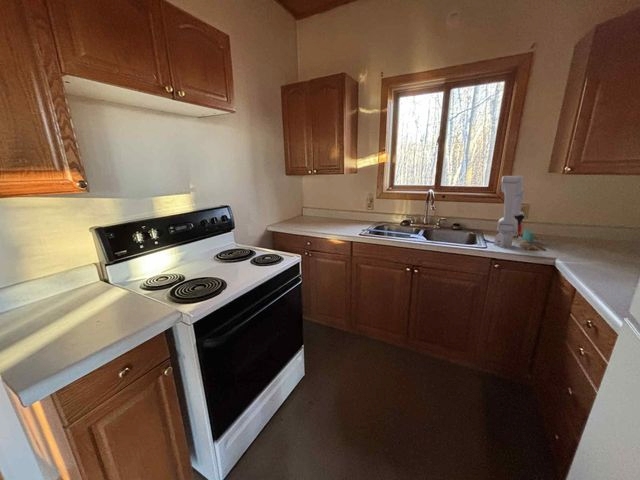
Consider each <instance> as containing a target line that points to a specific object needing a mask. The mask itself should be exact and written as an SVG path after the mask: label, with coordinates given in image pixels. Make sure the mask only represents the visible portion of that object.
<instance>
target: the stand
mask: <svg viewBox="0 0 640 480" xmlns="http://www.w3.org/2000/svg"><path fill="white" fill-rule="evenodd" d="M517 240H518V241H519V242H520V240H524V241H526V242H527V243H528V244H531V245H533V246H536V244H538V241H537V240H535V239H533V241H527V240H525V239H524V238H523V236H518V237H517Z"/></svg>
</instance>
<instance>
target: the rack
mask: <svg viewBox="0 0 640 480" xmlns="http://www.w3.org/2000/svg"><path fill="white" fill-rule="evenodd" d="M530 245H531V244H530ZM519 247H520V248H521V249H523V250H525V249H524V248H522V247H521V246H520V245H519ZM546 250H547V249H546V248H545V247H543V246H541V245H539V244H538V243H537V244H536V245H531V246H530V250H529V251H535V252H546ZM525 251H526V250H525Z"/></svg>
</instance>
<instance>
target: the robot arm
mask: <svg viewBox="0 0 640 480" xmlns="http://www.w3.org/2000/svg"><path fill="white" fill-rule="evenodd" d="M524 178H525V177H524V175H503V176H502V177H501V180H500V181H501V182H500V190H501V192H502V193H503V194H504V205H503V206H504V207H503V216H502V217H501V218H500V219H499V220H498V221H497V226H496V230H497V231H498V233H497V234H496V235H495V236H494V243H493V246H496V247H500V248H510V247H512V246H513V241H514V237H513V234H514V233H516V232H517V228H518V227H519V225H520V223H521V221H523V220H524V219H525V216H524V215H525V212H523V211H521V209H522V202H523V199H524V196H525V190H526V188H523V185H524V180H525V179H524Z"/></svg>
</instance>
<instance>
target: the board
mask: <svg viewBox="0 0 640 480" xmlns="http://www.w3.org/2000/svg"><path fill="white" fill-rule="evenodd" d="M522 237H523V238H524V239H525V240H527V241H533V240H534V237H535V232H533V231H532V230H528V229H524V230H523V233H522Z"/></svg>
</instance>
